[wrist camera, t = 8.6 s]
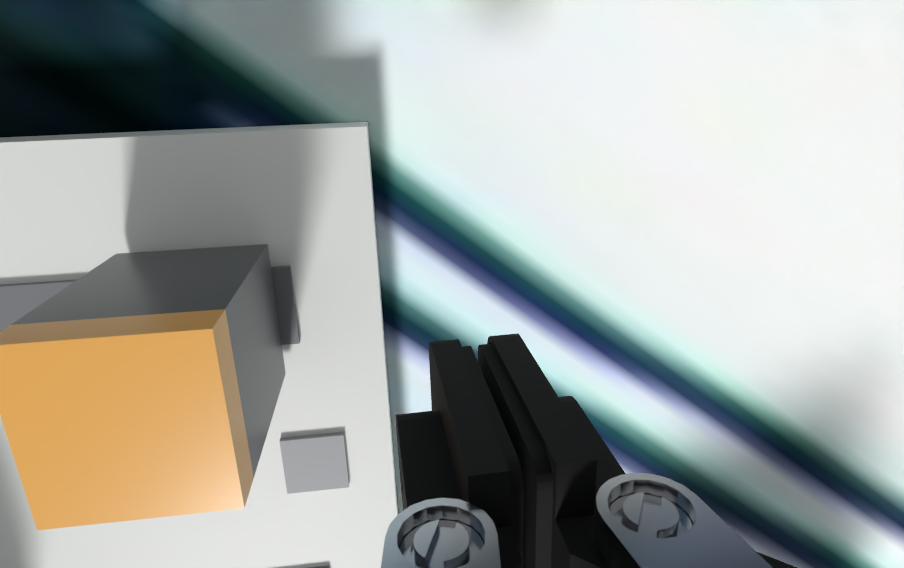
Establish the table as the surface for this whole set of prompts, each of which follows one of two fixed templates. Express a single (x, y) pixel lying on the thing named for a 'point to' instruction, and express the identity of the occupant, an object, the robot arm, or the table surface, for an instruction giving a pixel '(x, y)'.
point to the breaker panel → (299, 315)
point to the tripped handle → (144, 387)
